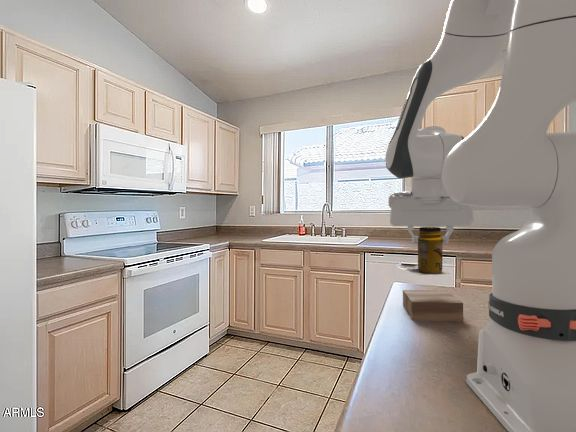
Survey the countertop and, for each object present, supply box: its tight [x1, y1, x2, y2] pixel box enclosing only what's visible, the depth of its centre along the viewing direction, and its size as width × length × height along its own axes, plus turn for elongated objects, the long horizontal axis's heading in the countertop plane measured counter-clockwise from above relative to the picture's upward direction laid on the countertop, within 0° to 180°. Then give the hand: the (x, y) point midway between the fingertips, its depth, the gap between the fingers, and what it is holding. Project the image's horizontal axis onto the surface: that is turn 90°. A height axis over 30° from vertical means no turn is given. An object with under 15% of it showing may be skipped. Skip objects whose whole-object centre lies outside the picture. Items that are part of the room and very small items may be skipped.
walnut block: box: [402, 289, 464, 323], centre depth 87 cm, size 12×12×5 cm
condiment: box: [405, 226, 450, 276], centre depth 87 cm, size 7×8×12 cm
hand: (430, 243), depth 87 cm, fingers closed on condiment, 6 cm apart
